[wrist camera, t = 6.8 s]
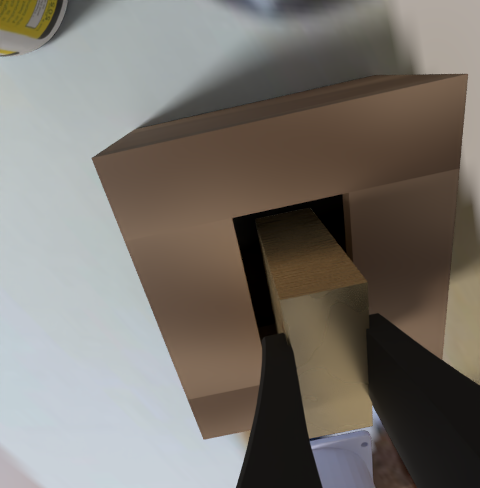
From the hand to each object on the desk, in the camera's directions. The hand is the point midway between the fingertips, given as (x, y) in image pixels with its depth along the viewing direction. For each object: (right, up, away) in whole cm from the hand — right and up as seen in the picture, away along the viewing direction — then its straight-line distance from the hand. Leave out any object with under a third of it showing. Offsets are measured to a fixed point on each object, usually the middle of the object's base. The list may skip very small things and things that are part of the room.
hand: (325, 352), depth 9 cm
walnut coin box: (-1, +3, +7) cm, 8 cm away
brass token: (0, +2, +4) cm, 4 cm away
